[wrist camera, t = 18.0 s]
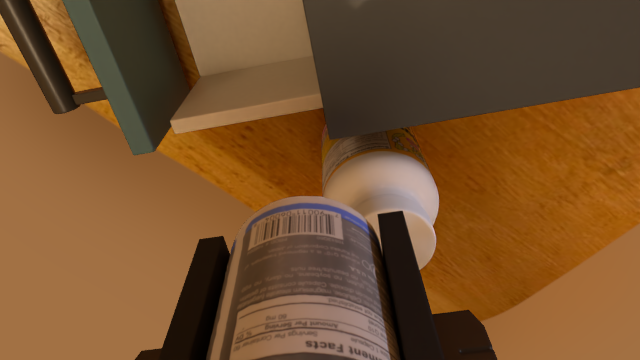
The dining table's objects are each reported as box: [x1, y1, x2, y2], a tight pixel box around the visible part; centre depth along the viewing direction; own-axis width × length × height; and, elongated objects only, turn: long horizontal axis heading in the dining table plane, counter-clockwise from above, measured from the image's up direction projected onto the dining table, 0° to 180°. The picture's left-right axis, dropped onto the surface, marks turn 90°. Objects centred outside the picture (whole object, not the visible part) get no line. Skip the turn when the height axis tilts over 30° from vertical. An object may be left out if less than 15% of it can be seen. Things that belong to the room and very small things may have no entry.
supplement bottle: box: [321, 125, 439, 270], centre depth 28 cm, size 7×7×13 cm
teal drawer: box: [0, 0, 323, 155], centre depth 24 cm, size 19×11×8 cm, turn 101°
